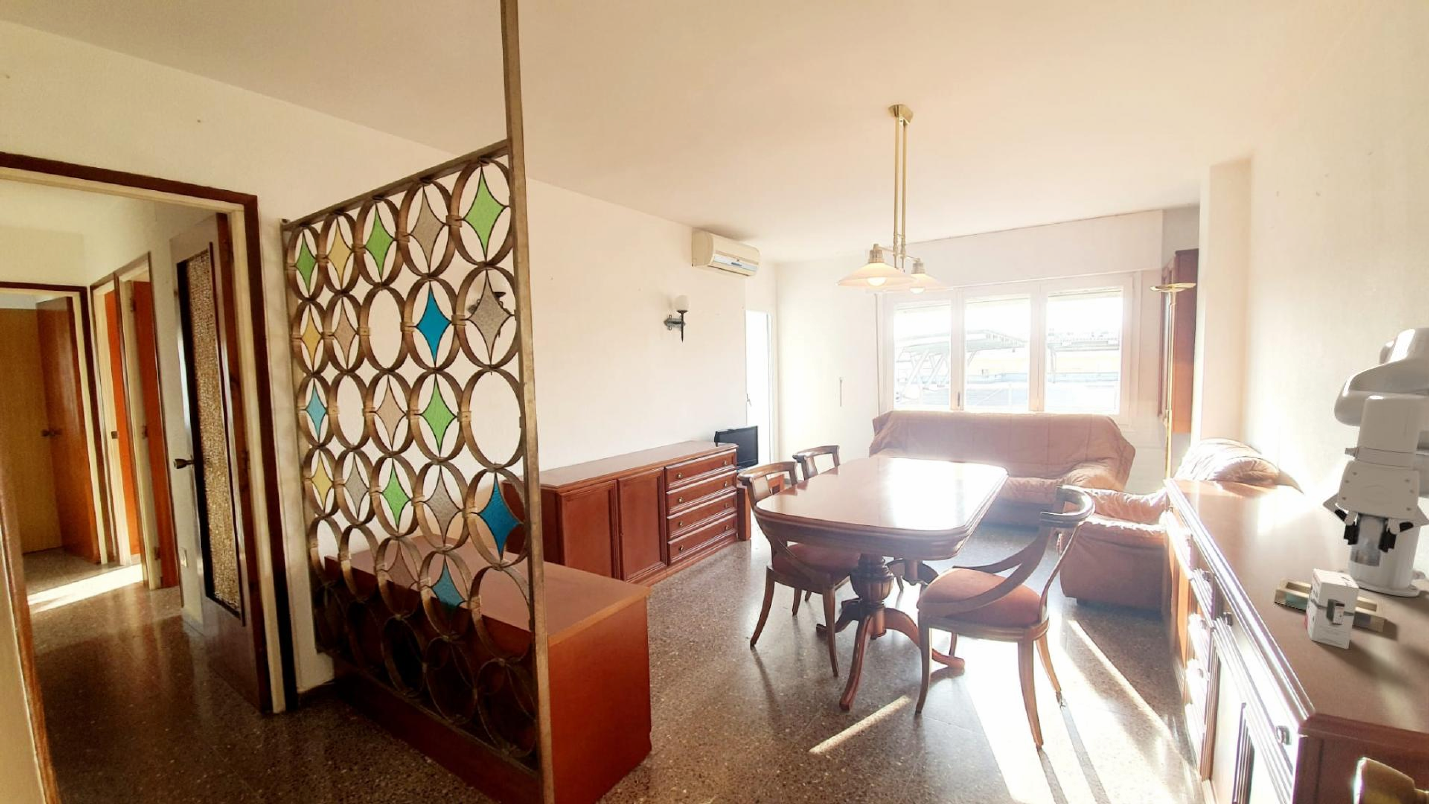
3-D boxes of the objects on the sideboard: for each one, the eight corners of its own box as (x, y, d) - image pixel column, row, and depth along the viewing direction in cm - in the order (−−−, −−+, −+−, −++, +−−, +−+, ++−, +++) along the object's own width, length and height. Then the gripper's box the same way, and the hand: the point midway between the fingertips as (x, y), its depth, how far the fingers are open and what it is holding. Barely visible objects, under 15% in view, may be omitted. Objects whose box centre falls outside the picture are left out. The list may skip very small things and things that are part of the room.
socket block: (1273, 602, 120) (1275, 589, 120) (1280, 590, 126) (1282, 577, 126) (1381, 633, 109) (1384, 618, 108) (1383, 617, 115) (1385, 603, 115)
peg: (1361, 558, 115) (1370, 506, 114) (1385, 566, 111) (1396, 512, 110) (1343, 558, 115) (1353, 506, 114) (1368, 566, 111) (1378, 512, 110)
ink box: (1302, 623, 112) (1312, 566, 110) (1338, 631, 109) (1349, 573, 107) (1310, 640, 105) (1320, 580, 103) (1349, 650, 102) (1360, 588, 100)
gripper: (1320, 452, 115) (1305, 538, 117) (1454, 469, 102) (1435, 566, 104) (1323, 448, 119) (1309, 531, 122) (1452, 464, 107) (1433, 557, 109)
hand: (1367, 546), depth 113 cm, fingers closed on peg, 4 cm apart
